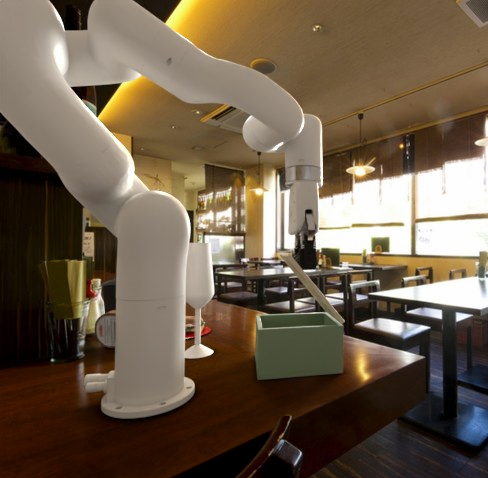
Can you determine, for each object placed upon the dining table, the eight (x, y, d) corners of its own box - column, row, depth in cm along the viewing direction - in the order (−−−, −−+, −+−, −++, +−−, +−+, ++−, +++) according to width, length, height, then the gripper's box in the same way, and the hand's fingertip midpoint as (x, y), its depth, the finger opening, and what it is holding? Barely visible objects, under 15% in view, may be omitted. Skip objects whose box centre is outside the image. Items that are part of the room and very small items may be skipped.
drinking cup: (95, 340, 80) (96, 258, 81) (106, 332, 88) (107, 257, 88) (129, 338, 82) (131, 258, 83) (138, 330, 90) (139, 257, 90)
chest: (257, 380, 57) (258, 329, 57) (255, 356, 70) (255, 314, 70) (343, 373, 61) (343, 325, 61) (326, 351, 73) (326, 312, 73)
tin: (162, 347, 75) (163, 310, 76) (154, 351, 72) (155, 313, 72) (101, 344, 77) (102, 308, 77) (91, 348, 74) (92, 311, 74)
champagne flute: (173, 356, 69) (175, 242, 70) (194, 347, 76) (196, 243, 76) (200, 359, 67) (202, 242, 68) (219, 350, 74) (221, 243, 74)
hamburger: (158, 328, 92) (159, 307, 92) (211, 325, 96) (211, 305, 97) (148, 342, 79) (149, 317, 79) (210, 338, 83) (210, 314, 83)
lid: (286, 256, 59) (307, 239, 60) (279, 254, 71) (296, 240, 72) (341, 324, 61) (361, 306, 62) (325, 311, 73) (342, 296, 74)
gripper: (280, 185, 74) (281, 266, 74) (291, 168, 57) (292, 272, 57) (313, 186, 75) (314, 265, 75) (332, 170, 59) (334, 271, 58)
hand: (304, 267), depth 66 cm, fingers closed on lid, 6 cm apart
